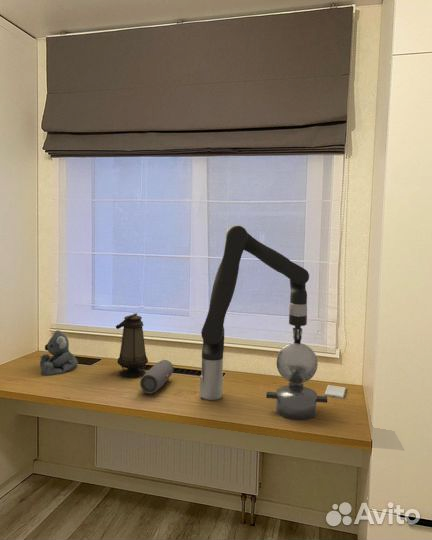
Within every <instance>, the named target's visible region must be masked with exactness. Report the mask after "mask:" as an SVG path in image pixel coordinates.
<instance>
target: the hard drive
mask: <svg viewBox="0 0 432 540" xmlns="http://www.w3.org/2000/svg"><path fill="white" fill-rule="evenodd" d="M346 390H347V387H345V386H338V385H332V384H331V385H330V384H328V385H327V387H326V390H325V392H324V395H323V396H327V398H335V399H342V400H344V398H345V394H346V392H347V391H346Z"/></svg>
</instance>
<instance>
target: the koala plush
mask: <svg viewBox="0 0 432 540" xmlns="http://www.w3.org/2000/svg"><path fill="white" fill-rule="evenodd" d="M69 344H70V343H69V339H68V337H67V336H66V334H64V333H62V332H61V330H59V329H56V330H54V331H53V334H52V336H51V337H50V339H49V340H48V342H47V344H45V345H44V349H45V351H47V352H48V353H49V354H50V355H52V356H50V355H49V354H45V353H43V354H42V355H41V358H40V361H39V366H40V368H41V372H40V374H41V375H42V376H54V375H61V374H64V373H66V372H70V371H72V370H75V369H77V368H78V365H79V362H78V359H77V358H76V356H75V355H74V354H73V353H71V352H70V350H69V349H70V348H69V347H70V345H69Z"/></svg>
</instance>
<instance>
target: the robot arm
mask: <svg viewBox="0 0 432 540" xmlns="http://www.w3.org/2000/svg"><path fill="white" fill-rule="evenodd" d="M244 251H245V252H247V253H248V254H251V255H253V256H254V257H255V258H257V260H260V261H261V262H262V263H263V264H265V265H267V266H268V267H269V268H271V269H273V270H274V271H276V272H277V273H280V274H282V275H284V276H285V277H287V278H288V279H289V287H290V296H289V297H290V298H289V299H290V301H289V308H288V310H289V311H288V312H289V313H288V324H289V325H290V326H294V327H292V333H293V334H292V338H293V339H292V340H293V343H301V341H302V339H303V338H302V335H303V328H302V327H304V326H306V325H308V324H307V323H308V293H307V289H306V284H307V282H308V281H309V279H310V273H309V271H308V270H307V269H306V268H304V267H302V266H300V265H299V264H298V263H295V262H293V261H291V260H290V259H289V258H288V257H286V256H284V255H283V254H282V253H279V252H278V251H277V250H275V249H272V248H271V247H269V246H267V245H266V244H263V243H262V242H261V241H259V240H258V239H256V238H255V237H253V235H251V234H250V233H249V232H248V231H247V230H246V228H245V227H243V226H241V225H237V224H235V225H231V226H230V227H228V228H227V230H226V231H225V243H224V250H223V255H222V259H221V261H220V263H219V265H218V268H217V271H216V274H215V277H214V282H213V284H212V291H211V294H210V299H209V306H208V307H209V308H208V312H207V315H206V317H205V321H204V323H203V327H202V328H201V332H200V333H201V338H202V348H201V370H200V371H201V374H200V377H199V378H200V380H199V398H201V399H205V400H208V401H209V400H210V401H215V400H219V399H221V398H222V397H223V377H224V375H223V373H224V351H225V328H224V324H225V319H226V314H227V312H228V310H229V307H230V305H231V302H232V298H233V296H234V293H235V290H236V285H237V280H238V276H239V271H240V262H241V258H242V255H243V253H244Z"/></svg>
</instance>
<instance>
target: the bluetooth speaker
mask: <svg viewBox="0 0 432 540" xmlns="http://www.w3.org/2000/svg"><path fill="white" fill-rule="evenodd" d="M145 372H146V374H145V375H144V376H142V377H141V379H140V382H139V386H140V388H141V390H142V391H143V392H144V393H146V394H154V393H155V392H157V391H159V390H160V389H161V388H162V386H163V385H164V384H165V383H166V382H167V381H168V380H169V379H170V377H171V376H172V374H173V372H174V365H173V364H172V362H171V361H170V360H167V359H162V360H160V361H158V362H157V363H155V364H154V365H153V366H152V367H151V368H149V369H148V370H147V371H145Z"/></svg>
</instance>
